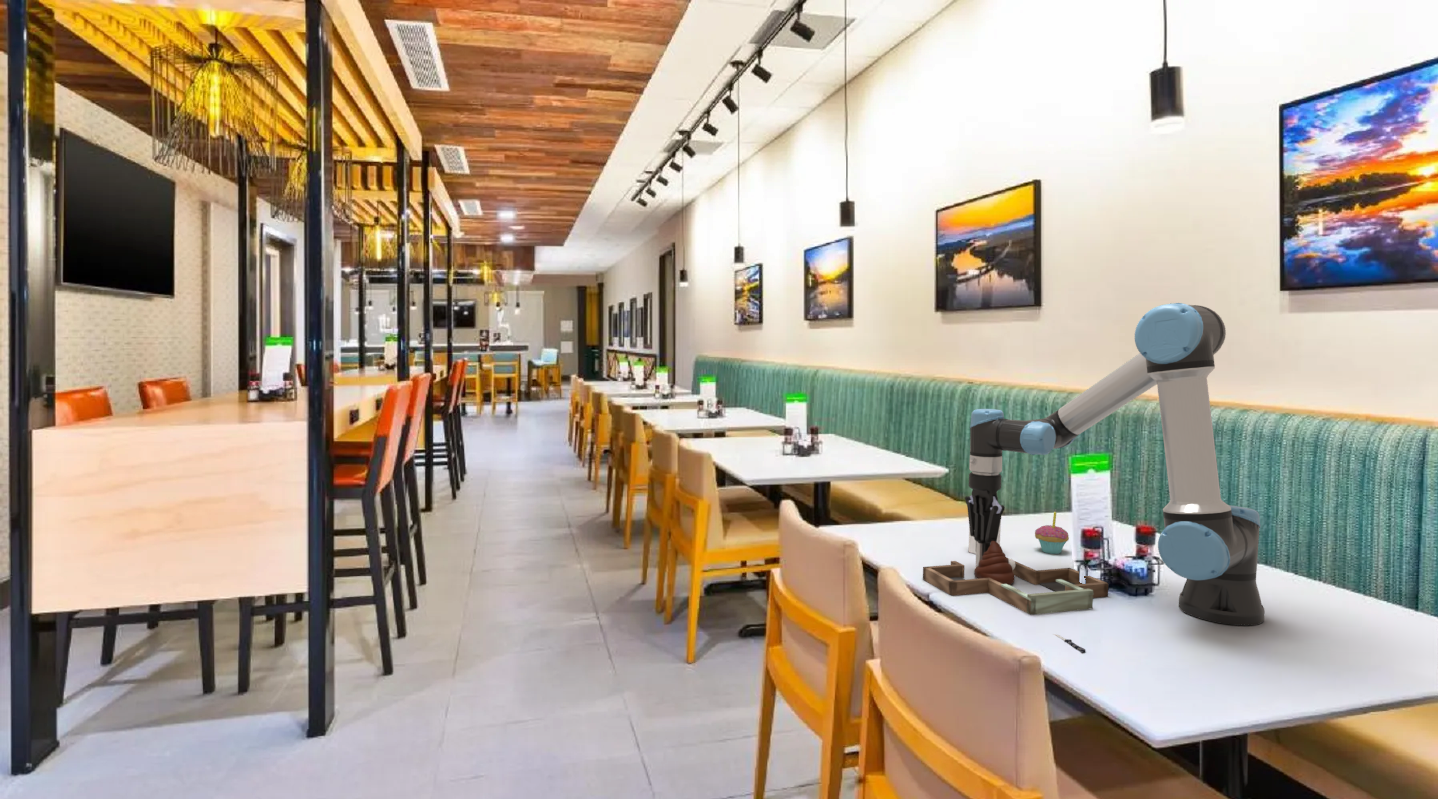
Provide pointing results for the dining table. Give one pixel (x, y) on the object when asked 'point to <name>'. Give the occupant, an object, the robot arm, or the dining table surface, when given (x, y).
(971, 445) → the robot arm
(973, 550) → the jar
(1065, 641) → the knife
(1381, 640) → the dining table surface
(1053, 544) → the cupcake
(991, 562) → the poop emoji
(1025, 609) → the box
